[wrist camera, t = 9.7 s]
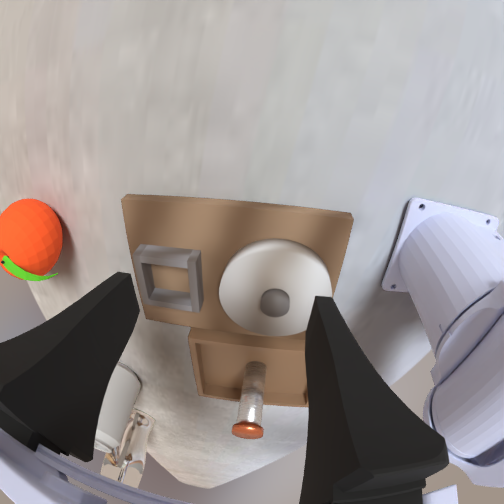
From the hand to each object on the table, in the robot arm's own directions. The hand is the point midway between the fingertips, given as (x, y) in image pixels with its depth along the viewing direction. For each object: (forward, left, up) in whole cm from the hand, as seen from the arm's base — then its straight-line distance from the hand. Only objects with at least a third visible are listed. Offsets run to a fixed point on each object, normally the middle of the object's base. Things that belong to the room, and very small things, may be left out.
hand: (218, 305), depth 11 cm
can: (+17, +26, -10) cm, 33 cm away
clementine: (+18, +3, -10) cm, 21 cm away
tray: (-2, +18, -10) cm, 21 cm away
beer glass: (+18, +42, -10) cm, 47 cm away
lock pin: (-2, +18, -9) cm, 20 cm away
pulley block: (+1, +6, -10) cm, 12 cm away
